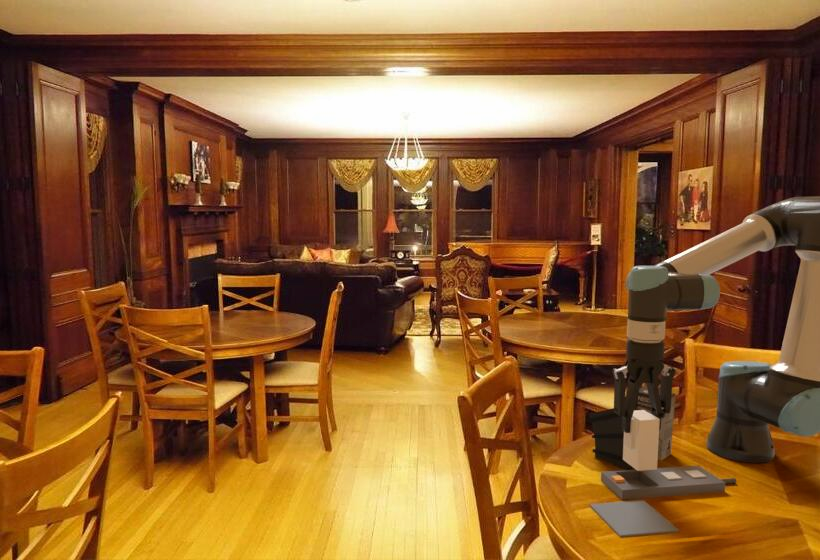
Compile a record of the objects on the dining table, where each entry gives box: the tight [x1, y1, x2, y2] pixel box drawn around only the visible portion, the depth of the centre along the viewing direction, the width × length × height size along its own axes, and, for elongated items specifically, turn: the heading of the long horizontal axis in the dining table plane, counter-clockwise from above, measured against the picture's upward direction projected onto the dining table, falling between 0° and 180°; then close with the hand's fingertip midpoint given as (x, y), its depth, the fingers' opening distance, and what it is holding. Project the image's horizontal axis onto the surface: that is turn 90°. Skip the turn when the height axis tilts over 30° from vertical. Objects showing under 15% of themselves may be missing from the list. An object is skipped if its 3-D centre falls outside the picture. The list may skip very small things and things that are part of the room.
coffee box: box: [634, 385, 676, 461], centre depth 151 cm, size 9×6×16 cm
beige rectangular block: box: [623, 410, 660, 471], centre depth 130 cm, size 4×6×11 cm
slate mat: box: [589, 499, 680, 538], centre depth 118 cm, size 12×12×1 cm
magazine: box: [587, 407, 636, 470], centre depth 145 cm, size 4×13×15 cm, turn 32°
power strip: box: [600, 464, 737, 501], centre depth 133 cm, size 30×9×3 cm, turn 100°
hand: (640, 445), depth 131 cm, fingers closed on beige rectangular block, 4 cm apart
